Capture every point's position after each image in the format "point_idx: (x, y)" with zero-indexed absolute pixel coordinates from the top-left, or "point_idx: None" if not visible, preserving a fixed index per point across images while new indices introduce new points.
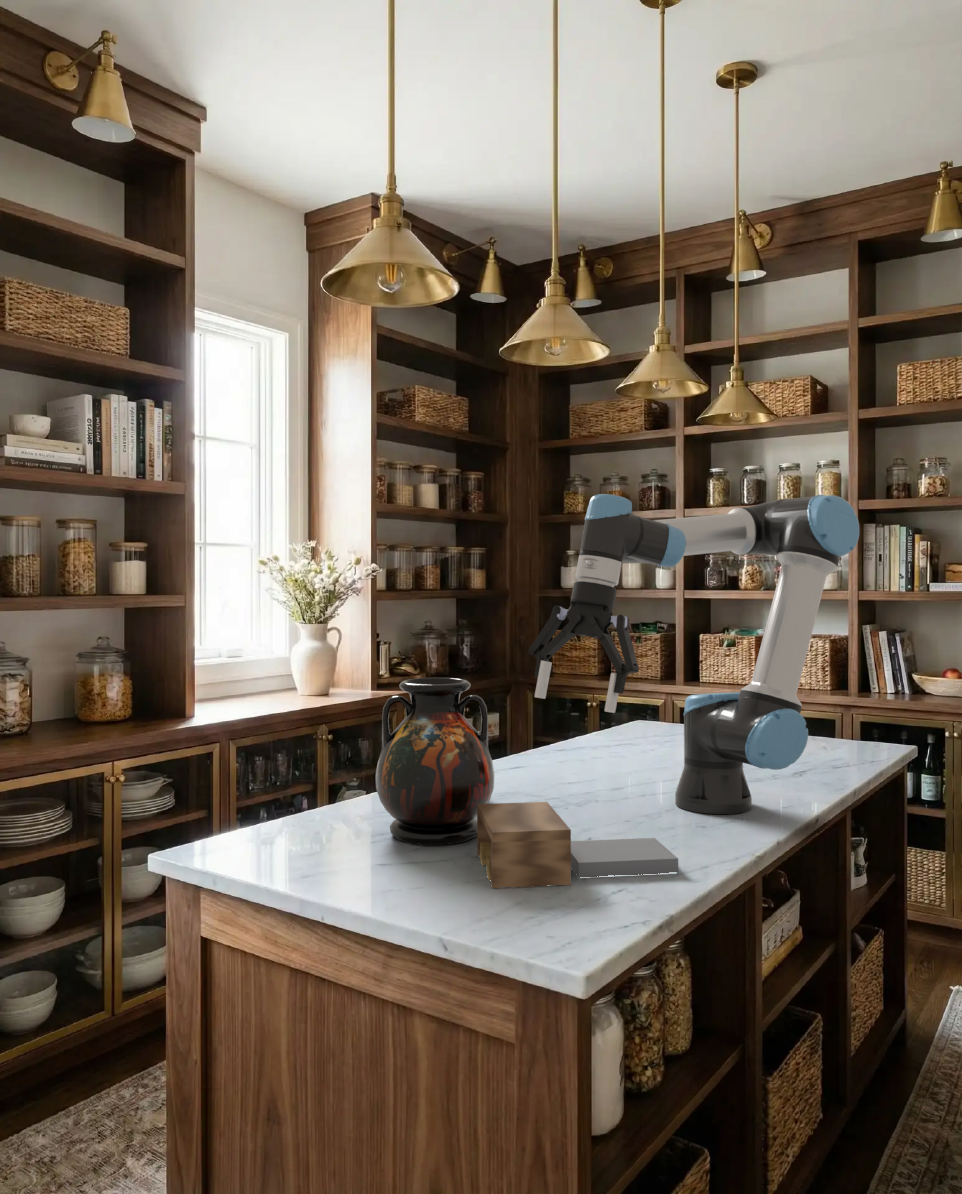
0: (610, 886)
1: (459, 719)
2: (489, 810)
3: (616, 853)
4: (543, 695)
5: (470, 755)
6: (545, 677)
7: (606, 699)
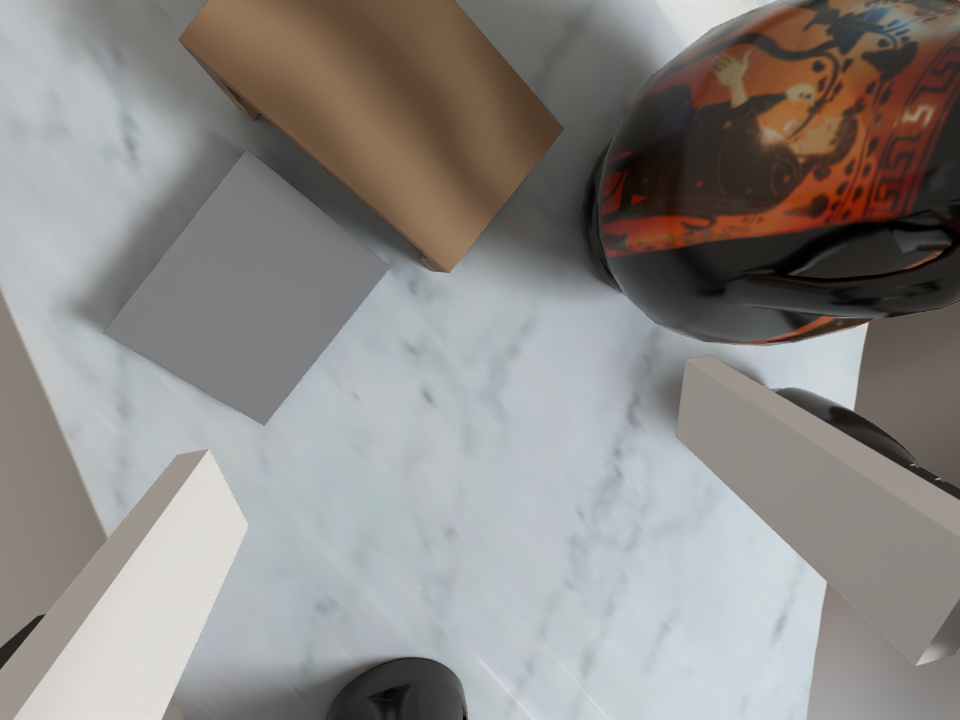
0: (167, 157)
1: (879, 169)
2: (499, 89)
3: (237, 270)
4: (690, 422)
5: (699, 155)
6: (787, 484)
7: (164, 508)
